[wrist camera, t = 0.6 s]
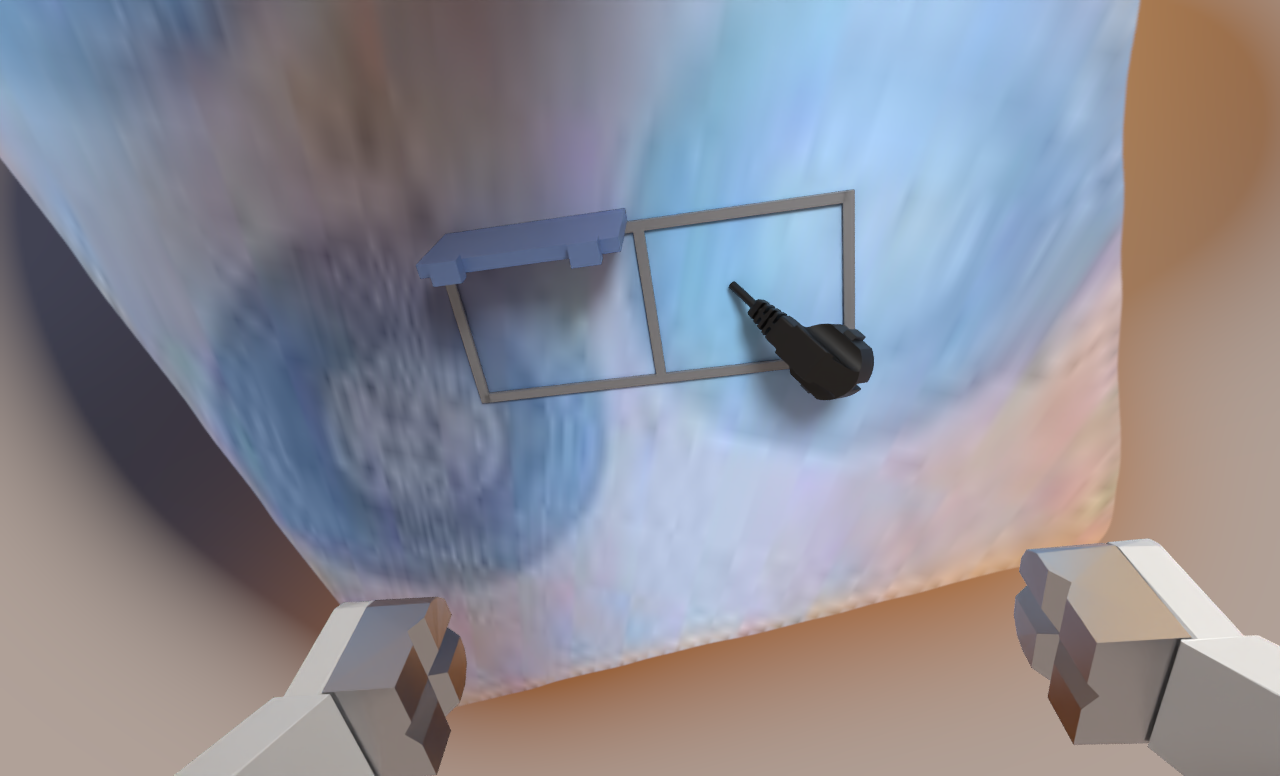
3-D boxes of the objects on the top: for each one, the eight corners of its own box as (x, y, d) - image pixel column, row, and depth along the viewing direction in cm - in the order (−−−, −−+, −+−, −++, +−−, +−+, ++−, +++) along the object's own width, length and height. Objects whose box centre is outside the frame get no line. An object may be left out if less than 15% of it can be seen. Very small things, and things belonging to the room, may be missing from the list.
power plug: (748, 254, 51) (867, 359, 47) (791, 262, 57) (900, 356, 53) (706, 312, 54) (815, 418, 49) (752, 314, 60) (852, 409, 55)
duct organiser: (430, 232, 53) (391, 269, 46) (853, 171, 49) (883, 201, 42) (483, 401, 60) (457, 456, 53) (854, 359, 56) (879, 412, 49)
